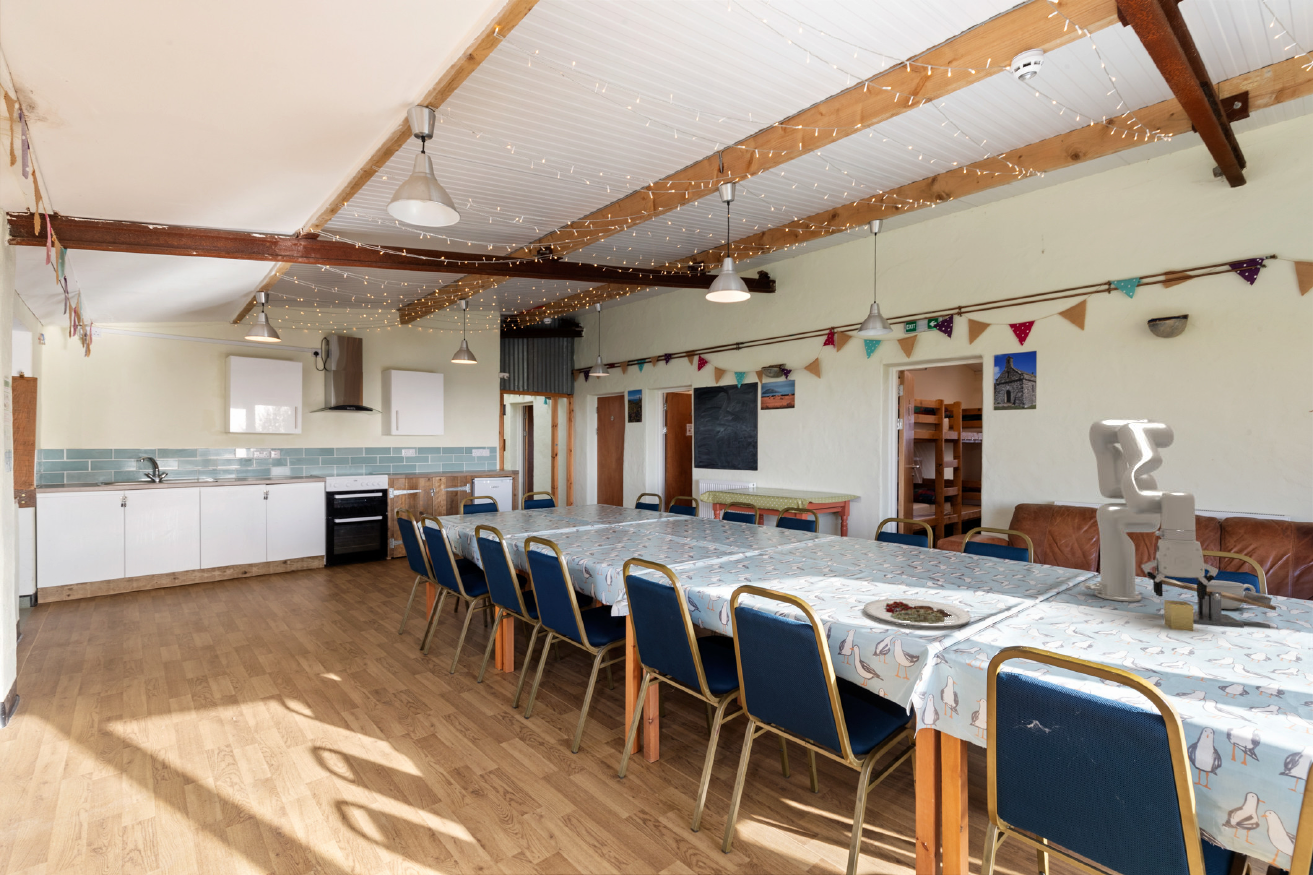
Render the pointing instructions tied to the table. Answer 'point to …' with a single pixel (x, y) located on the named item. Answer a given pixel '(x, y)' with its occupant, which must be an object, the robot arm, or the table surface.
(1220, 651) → the table surface
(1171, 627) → the block
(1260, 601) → the beam
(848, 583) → the table surface
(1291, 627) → the table surface
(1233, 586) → the teacup
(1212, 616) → the beam stand
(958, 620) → the plated food
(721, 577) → the table surface
